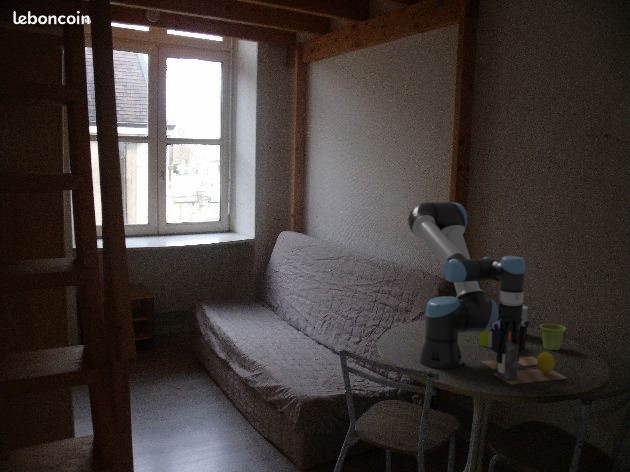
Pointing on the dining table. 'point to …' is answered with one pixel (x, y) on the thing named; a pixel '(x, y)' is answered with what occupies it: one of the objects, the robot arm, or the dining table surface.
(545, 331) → the plant pot
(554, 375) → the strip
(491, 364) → the brown wooden plank
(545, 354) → the lemon
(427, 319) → the robot arm
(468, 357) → the dining table surface
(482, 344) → the puzzle toy
